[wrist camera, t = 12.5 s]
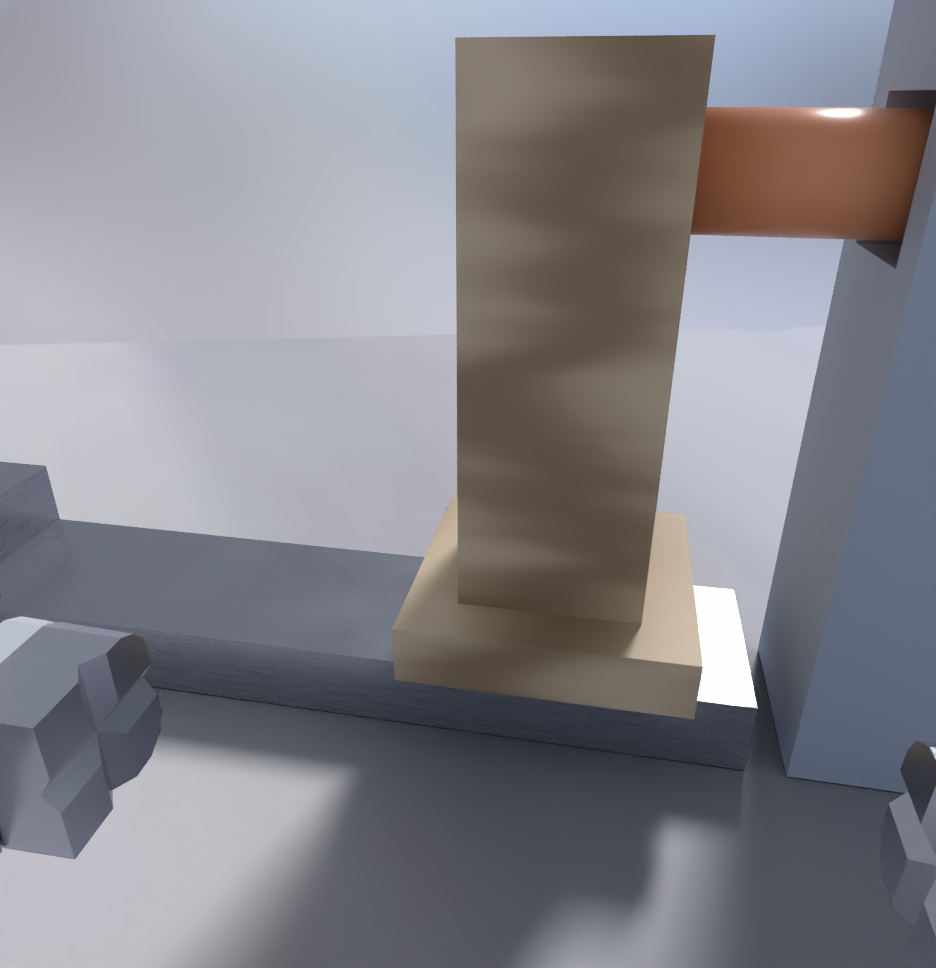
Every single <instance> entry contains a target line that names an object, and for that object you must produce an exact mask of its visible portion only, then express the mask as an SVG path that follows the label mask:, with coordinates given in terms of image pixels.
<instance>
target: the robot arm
mask: <svg viewBox="0 0 936 968" xmlns="http://www.w3.org/2000/svg"><path fill="white" fill-rule="evenodd" d="M150 665H151V660H150V656H149V653H148V649H147V645H146V642H145V640H144V639H142V638H140V637H139V636H137V635H135V634H132V633H126V632H120V631H114V630H107V629H101V628H95V627H89V626H83V625H77V624H71V623H64V622H52V621H47V620H41V619H34V618H28V617H22V616H20V617H16V618H11V619H7V620H4V621H3V622H2V623H0V853H1V852H2V849H1V848H7V849H13V850H19V851H26V852H32V853H38V854H44V855H51V856H57V857H63V858H69V859H76V857H77V856H78V855H79V853H80V852H81V851H82V849H83V848H84V847H85V845H86V844H87V843H88V841H89V840H90V839H91V837H92V836H93V835H94V833H95V832H96V831H97V829H98V828H99V827H100V825H101V824H102V823H103V821H104V820H105V819H106V817H107V816H108V815H109V813H110V812H111V811H112V809H113V791H112V790H113V789H115V788H117V787H119V786H121V785H122V784H124V783H126V782H128V781H130V780H131V779H133V778H135V777H137V776H138V774H139V773H140V771H141V770H142V768H143V767H144V766H145V764H146V763H147V761H148V760H149V759H150V757H151V756H152V753H153V750H154V747H155V744H156V742H157V739H158V736H159V733H160V730H161V712H162V711H161V706H160V701H159V696H158V693H157V692H156V691H155V690H154V689H153V688H152V687H151V685H150V684H149V683H148V682H147V681H146V680H145V679H144V678H143V675H144V674H145V672H146V671H147V669H148V668H149V666H150ZM900 771H901V774H902V777H903V779H904V782H905V785H906V787H907V790H908V792H906V793H905V794H903V795H901V796H900V797H898V798H897V799H895V800H893V801H892V802H890V803H889V804H888V807H887V811H886V814H885V817H884V821H883V824H882V828H881V848H880V859H881V866H882V872H883V879H884V883H885V886H886V890H887V893H888V896H889V900H890V903H891V905H892V907H893V908H894V909H895V910H896V911H897V912H898V913H899V914H900V915H901V916H902V917H903V918H904V919H905V920H906V921H907V922H908V923H909V924H910V925H911V926H912V927H913V928H914V929H913V932H912V934H911V937H910V940H909V942H908V945H907V947H906V950H905V951H906V954H907V957H908V960H909V964H910V967H911V968H936V743H932V742H924V741H917V740H916V741H915V742H914V744H913V745H912V746H911V747H910V748H909V749H908V750H907V752H906V755H905V758H904V761H903V763H902V766H901V769H900Z"/></svg>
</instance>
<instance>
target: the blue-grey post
mask: <svg viewBox="0 0 936 968" xmlns="http://www.w3.org/2000/svg"><path fill="white" fill-rule="evenodd" d="M872 108H935V111H934V115H933V119H932V123H931V127H930V131H929V135H928V140H927V144H926V148H925V152H924V156H923V160H922V164H921V168H920V172H919V177H918V181H917V185H916V189H915V193H914V197H913V201H912V205H911V209H910V214H909V218H908V222H907V226H906V230H905V234H904V238H903V241H883V240H851V239H844V243H843V248H842V253H841V258H840V262H839V267H838V272H837V277H836V281H835V286H834V291H833V295H832V301H831V305H830V310H829V314H828V320H827V324H826V329H825V333H824V338H823V343H822V348H821V352H820V357H819V362H818V367H817V371H816V376H815V381H814V386H813V390H812V395H811V400H810V405H809V409H808V414H807V419H806V424H805V428H804V433H803V438H802V443H801V447H800V452H799V457H798V462H797V466H796V471H795V476H794V481H793V485H792V490H791V495H790V500H789V504H788V509H787V514H786V519H785V523H784V528H783V533H782V538H781V542H780V547H779V552H778V557H777V561H776V566H775V571H774V576H773V580H772V585H771V590H770V595H769V599H768V604H767V609H766V614H765V618H764V623H763V628H762V632H761V637H760V642H759V647H758V651H759V655H760V660H761V664H762V669H763V673H764V678H765V682H766V687H767V691H768V695H769V700H770V704H771V709H772V713H773V718H774V722H775V727H776V731H777V736H778V740H779V745H780V749H781V754H782V758H783V763H784V767H785V772H786V776H788V777H795V778H802V779H809V780H816V781H823V782H830V783H837V784H844V785H851V786H858V787H866V788H873V789H880V790H887V791H894V792H901V793H906V792H908V790H907V787H906V785H905V782H904V779H903V777H902V774H901V771H900V769H901V766H902V763H903V761H904V758H905V755H906V752H907V750H908V749H909V748H910V747H911V746H912V745H913V744H914V742H915V741H916V740H917V741H924V742H932V743H936V0H895V1H894V6H893V11H892V15H891V20H890V25H889V30H888V35H887V39H886V44H885V49H884V53H883V58H882V63H881V68H880V73H879V77H878V82H877V87H876V92H875V96H874V101H873V106H872Z"/></svg>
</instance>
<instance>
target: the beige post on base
mask: <svg viewBox="0 0 936 968" xmlns="http://www.w3.org/2000/svg"><path fill="white" fill-rule="evenodd" d="M714 42H715V35H672V36H671V35H663V36H571V37H570V36H569V37H568V36H567V37H476V38H475V37H474V38H473V37H470V38H456V39H455V43H456V265H457V266H456V269H457V270H456V271H457V494H453V496H452V498H451V501H450V503H449V505H448V507H447V509H446V512H445V514H444V516H443V518H442V520H441V523H440V525H439V527H438V529H437V531H436V533H435V536H434V538H433V540H432V542H431V544H430V547H429V549H428V551H427V553H426V555H425V558H424V560H423V562H422V564H421V566H420V569H419V571H418V573H417V575H416V577H415V580H414V582H413V584H412V586H411V588H410V591H409V593H408V595H407V597H406V599H405V602H404V604H403V606H402V608H401V610H400V613H399V615H398V617H397V619H396V621H395V624H394V626H393V628H392V640H393V660H394V679H395V680H400V681H408V682H415V683H423V684H430V685H438V686H445V687H453V688H460V689H468V690H475V691H483V692H491V693H498V694H506V695H513V696H521V697H528V698H536V699H543V700H551V701H559V702H566V703H574V704H581V705H589V706H596V707H604V708H611V709H619V710H627V711H634V712H642V713H649V714H657V715H664V716H672V717H679V718H687V719H694V717H695V712H696V706H697V700H698V694H699V688H700V683H701V677H702V671H703V661H702V653H701V644H700V636H699V628H698V619H697V611H696V603H695V594H694V586H693V578H692V569H691V561H690V553H689V545H688V536H687V528H686V520H685V515H684V514H673V513H661V512H656V506H657V498H658V490H659V482H660V474H661V466H662V458H663V450H664V442H665V434H666V426H667V418H668V410H669V402H670V394H671V386H672V378H673V370H674V362H675V354H676V346H677V338H678V330H679V322H680V314H681V306H682V298H683V290H684V282H685V274H686V266H687V258H688V250H689V242H690V234H691V226H692V218H693V210H694V202H695V194H696V186H697V178H698V170H699V162H700V154H701V146H702V138H703V130H704V122H705V114H706V106H707V98H708V89H709V82H710V74H711V65H712V58H713V49H714Z"/></svg>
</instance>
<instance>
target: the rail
mask: <svg viewBox="0 0 936 968" xmlns="http://www.w3.org/2000/svg"><path fill="white" fill-rule="evenodd" d="M424 558H425V557H415V556H406V555H396V554H386V553H377V552H367V551H358V550H348V549H339V548H329V547H319V546H310V545H300V544H291V543H281V542H272V541H262V540H252V539H243V538H233V537H224V536H214V535H205V534H195V533H185V532H176V531H166V530H157V529H147V528H138V527H128V526H119V525H109V524H99V523H90V522H80V521H71V520H61V519H60V518H59V514H58V510H57V507H56V503H55V499H54V495H53V492H52V488H51V484H50V480H49V477H48V473H47V469H46V466H40V465H29V464H18V463H8V462H0V623H2V622H3V621H4V620H7V619H11V618H16V617H20V616H22V617H28V618H34V619H41V620H47V621H52V622H64V623H71V624H77V625H83V626H89V627H95V628H101V629H107V630H114V631H120V632H126V633H132V634H135V635H137V636H139V637H140V638H142V639H144V640H145V642H146V645H147V649H148V653H149V656H150V660H151V665H150V666H149V668H148V669H147V671H146V672H145V674H144V675H143V678H144V679H145V680H146V681H147V682H148V683H149V684H150V685H151V686H152V687H159V688H166V689H173V690H180V691H187V692H195V693H202V694H209V695H216V696H223V697H230V698H237V699H244V700H251V701H258V702H265V703H272V704H279V705H286V706H293V707H300V708H308V709H315V710H322V711H329V712H336V713H343V714H350V715H357V716H364V717H371V718H378V719H385V720H392V721H399V722H406V723H413V724H421V725H428V726H435V727H442V728H449V729H456V730H463V731H470V732H477V733H484V734H491V735H498V736H505V737H512V738H519V739H526V740H534V741H541V742H548V743H555V744H562V745H569V746H576V747H583V748H590V749H597V750H604V751H611V752H618V753H625V754H632V755H640V756H647V757H654V758H661V759H668V760H675V761H682V762H689V763H696V764H703V765H710V766H717V767H724V768H731V769H738V770H744V768H745V764H746V759H747V754H748V750H749V745H750V741H751V736H752V732H753V727H754V723H755V718H756V714H757V709H758V707H757V702H756V698H755V693H754V688H753V683H752V678H751V673H750V668H749V663H748V658H747V653H746V648H745V643H744V638H743V633H742V628H741V623H740V618H739V613H738V608H737V603H736V598H735V593H734V590H731V589H721V588H712V587H702V586H694V594H695V603H696V611H697V619H698V628H699V636H700V644H701V653H702V661H703V671H702V677H701V683H700V688H699V694H698V700H697V706H696V712H695V717H694V719H687V718H679V717H672V716H664V715H657V714H649V713H642V712H634V711H627V710H619V709H611V708H604V707H596V706H589V705H581V704H574V703H566V702H559V701H551V700H543V699H536V698H528V697H521V696H513V695H506V694H498V693H491V692H483V691H475V690H468V689H460V688H453V687H445V686H438V685H430V684H423V683H415V682H408V681H400V680H395V679H394V660H393V640H392V628H393V626H394V624H395V621H396V619H397V617H398V615H399V613H400V610H401V608H402V606H403V604H404V602H405V599H406V597H407V595H408V593H409V591H410V588H411V586H412V584H413V582H414V580H415V577H416V575H417V573H418V571H419V569H420V566H421V564H422V562H423V560H424Z"/></svg>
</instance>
